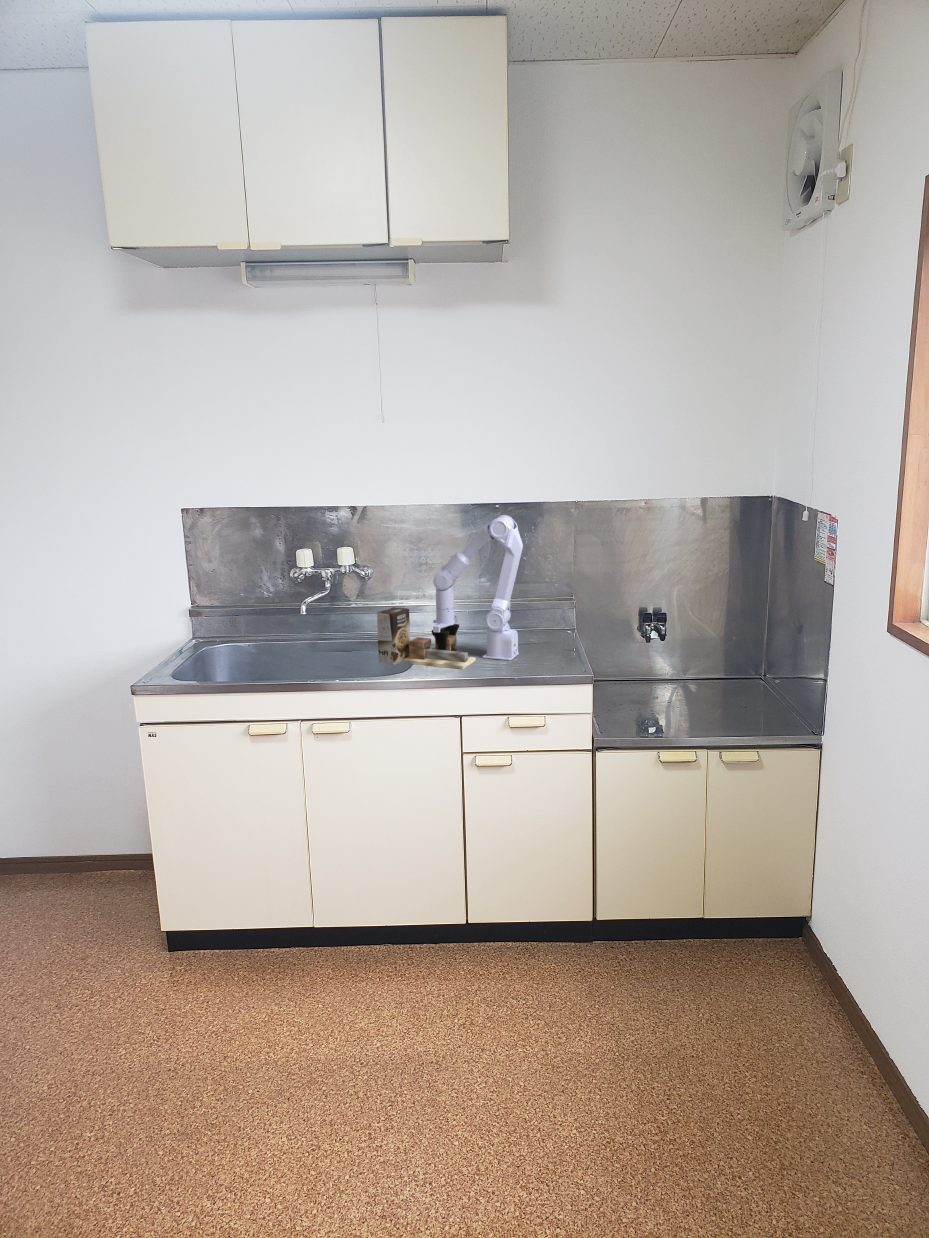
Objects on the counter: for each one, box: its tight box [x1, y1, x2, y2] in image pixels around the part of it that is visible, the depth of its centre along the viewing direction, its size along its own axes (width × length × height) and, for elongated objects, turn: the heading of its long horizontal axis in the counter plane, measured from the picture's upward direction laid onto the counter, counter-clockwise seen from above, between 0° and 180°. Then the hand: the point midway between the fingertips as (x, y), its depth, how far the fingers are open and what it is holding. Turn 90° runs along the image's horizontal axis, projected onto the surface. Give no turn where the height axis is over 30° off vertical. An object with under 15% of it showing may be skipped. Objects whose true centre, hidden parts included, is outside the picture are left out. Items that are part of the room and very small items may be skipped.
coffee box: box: [376, 606, 411, 666], centre depth 275 cm, size 9×6×16 cm
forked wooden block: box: [434, 634, 458, 652], centre depth 283 cm, size 5×5×6 cm
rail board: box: [402, 636, 476, 670], centre depth 274 cm, size 20×10×6 cm, turn 67°
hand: (446, 649), depth 284 cm, fingers closed on forked wooden block, 5 cm apart
